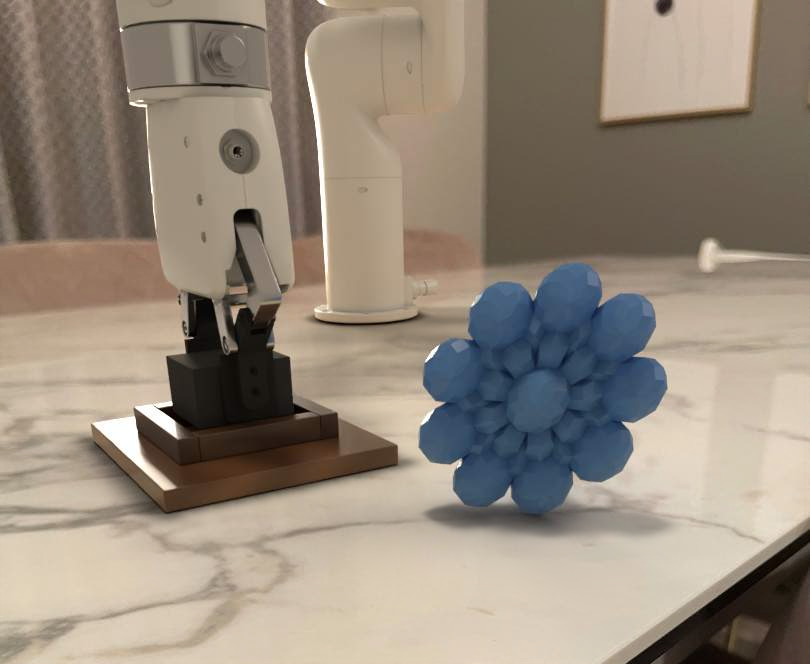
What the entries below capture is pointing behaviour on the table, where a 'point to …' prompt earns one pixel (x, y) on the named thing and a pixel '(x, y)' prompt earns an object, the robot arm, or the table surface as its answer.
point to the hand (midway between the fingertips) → (233, 406)
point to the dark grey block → (215, 387)
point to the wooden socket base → (237, 452)
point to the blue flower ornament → (541, 390)
